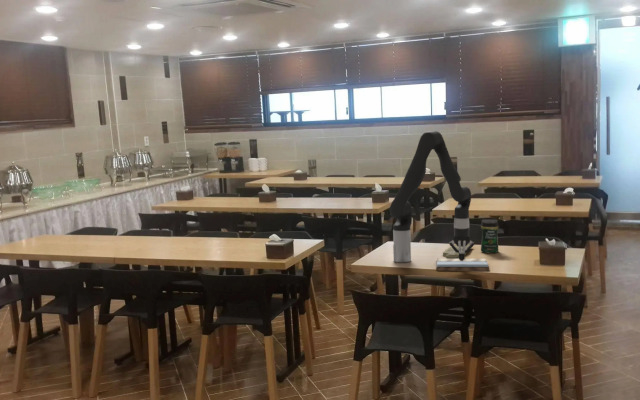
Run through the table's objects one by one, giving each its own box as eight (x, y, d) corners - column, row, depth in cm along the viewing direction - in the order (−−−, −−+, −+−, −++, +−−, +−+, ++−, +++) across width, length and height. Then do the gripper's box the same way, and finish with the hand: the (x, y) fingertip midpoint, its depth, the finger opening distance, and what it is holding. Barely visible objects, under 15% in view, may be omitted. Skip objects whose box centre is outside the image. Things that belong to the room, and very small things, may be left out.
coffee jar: (481, 253, 345) (480, 220, 343) (480, 250, 353) (480, 218, 351) (499, 253, 343) (498, 220, 341) (498, 250, 351) (498, 218, 348)
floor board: (436, 270, 311) (436, 265, 311) (436, 263, 326) (435, 258, 326) (489, 270, 306) (489, 265, 306) (486, 263, 321) (486, 258, 321)
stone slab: (440, 252, 338) (454, 240, 365) (440, 260, 339) (454, 247, 365) (462, 254, 333) (474, 241, 359) (462, 261, 333) (475, 248, 360)
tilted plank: (437, 266, 311) (437, 264, 311) (437, 263, 319) (437, 261, 319) (488, 266, 307) (488, 264, 307) (486, 263, 314) (486, 261, 314)
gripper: (448, 228, 306) (448, 262, 308) (475, 228, 303) (475, 262, 305) (448, 225, 313) (448, 258, 315) (474, 225, 310) (474, 258, 313)
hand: (461, 260), depth 310 cm, fingers closed
